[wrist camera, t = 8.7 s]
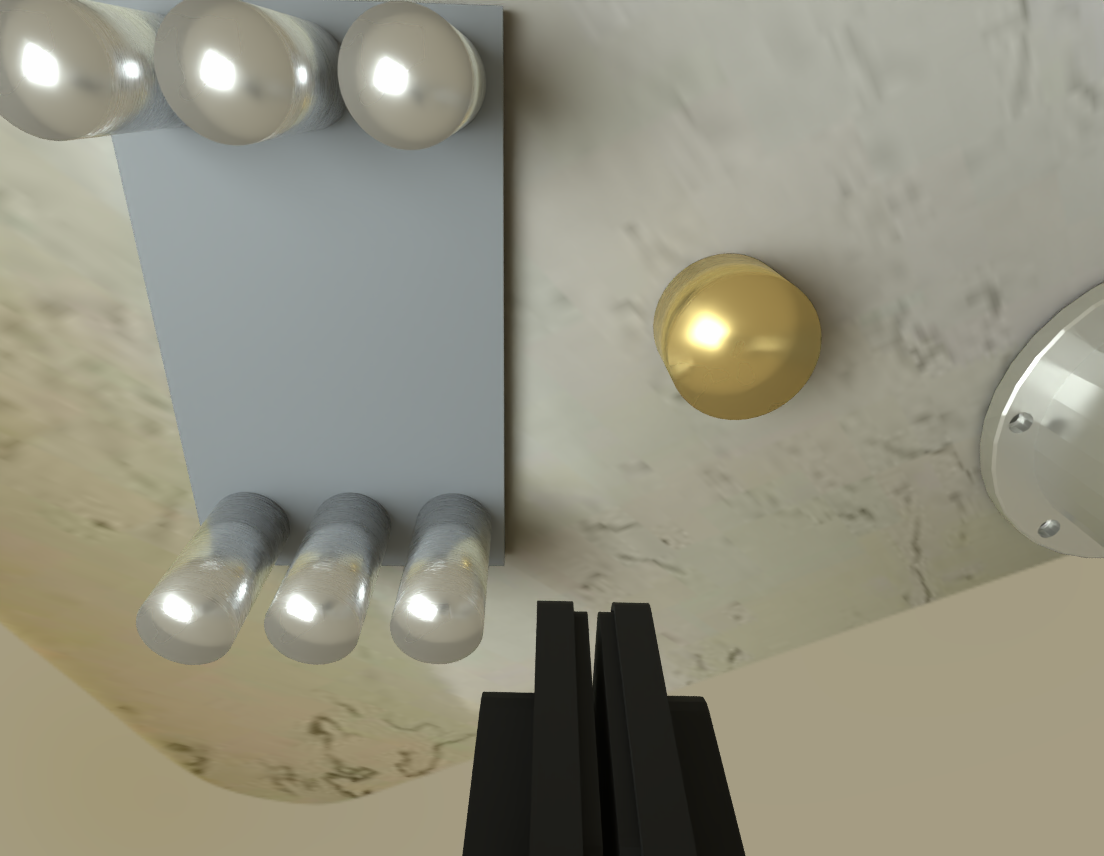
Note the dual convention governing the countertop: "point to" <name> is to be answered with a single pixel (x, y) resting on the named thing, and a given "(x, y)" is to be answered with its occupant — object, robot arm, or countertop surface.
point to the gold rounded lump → (736, 336)
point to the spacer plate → (332, 302)
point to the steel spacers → (240, 119)
